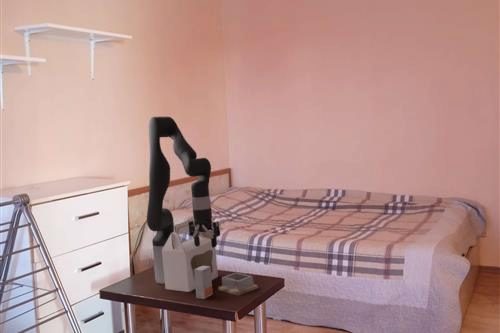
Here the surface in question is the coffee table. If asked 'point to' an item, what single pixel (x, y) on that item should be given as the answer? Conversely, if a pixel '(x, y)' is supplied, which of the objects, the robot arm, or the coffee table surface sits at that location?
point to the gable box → (186, 259)
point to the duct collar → (237, 281)
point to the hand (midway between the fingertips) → (205, 246)
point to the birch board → (238, 291)
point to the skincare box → (203, 282)
